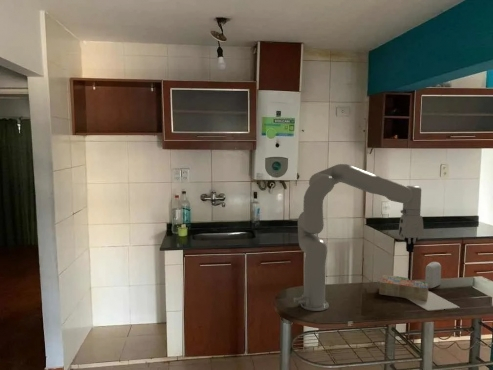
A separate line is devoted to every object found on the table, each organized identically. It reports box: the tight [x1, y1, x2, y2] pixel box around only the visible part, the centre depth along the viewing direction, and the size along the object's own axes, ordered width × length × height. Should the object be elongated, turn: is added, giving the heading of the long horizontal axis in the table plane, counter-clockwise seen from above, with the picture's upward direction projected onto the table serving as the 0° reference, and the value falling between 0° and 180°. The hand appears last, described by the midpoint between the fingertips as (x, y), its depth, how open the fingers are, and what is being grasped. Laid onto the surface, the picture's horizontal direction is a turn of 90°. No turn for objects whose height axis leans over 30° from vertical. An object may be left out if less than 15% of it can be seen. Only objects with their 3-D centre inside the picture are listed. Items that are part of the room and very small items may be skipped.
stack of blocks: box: [378, 274, 429, 301], centre depth 183 cm, size 21×6×12 cm
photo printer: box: [424, 261, 442, 289], centre depth 195 cm, size 10×4×12 cm, turn 127°
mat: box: [406, 290, 461, 312], centre depth 178 cm, size 16×26×1 cm, turn 11°
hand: (409, 251), depth 174 cm, fingers closed
